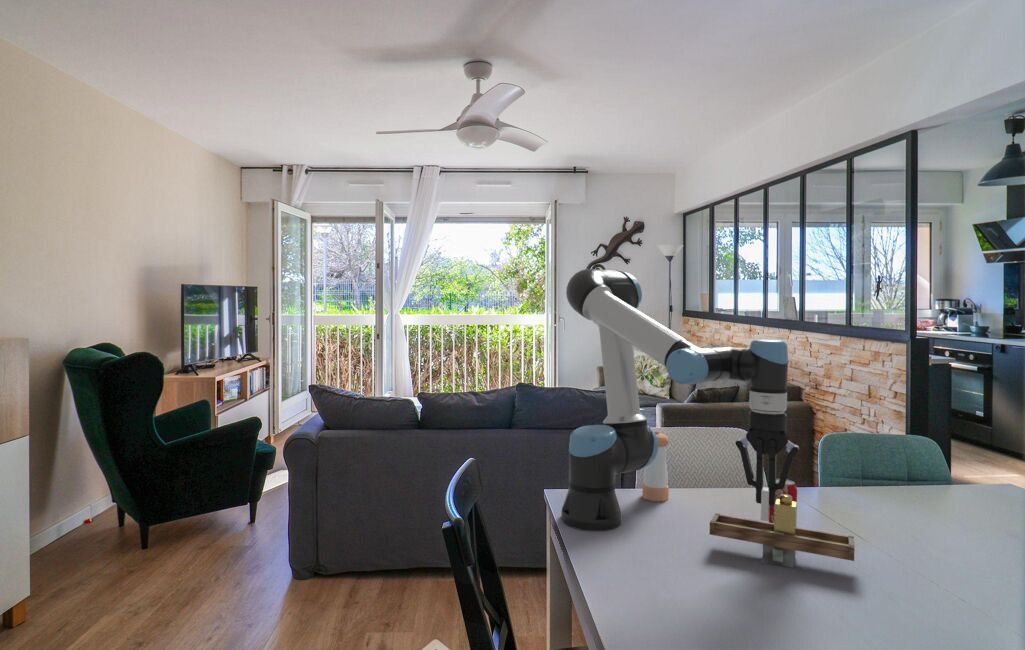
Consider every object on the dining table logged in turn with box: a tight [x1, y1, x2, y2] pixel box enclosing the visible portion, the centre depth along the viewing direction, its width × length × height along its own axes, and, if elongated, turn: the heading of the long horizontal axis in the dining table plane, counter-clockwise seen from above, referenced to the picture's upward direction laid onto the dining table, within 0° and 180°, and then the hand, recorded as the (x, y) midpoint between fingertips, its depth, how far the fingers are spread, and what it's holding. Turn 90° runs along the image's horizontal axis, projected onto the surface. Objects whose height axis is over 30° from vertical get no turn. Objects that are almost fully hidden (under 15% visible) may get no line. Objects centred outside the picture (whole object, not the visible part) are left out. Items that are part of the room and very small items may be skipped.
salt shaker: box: [641, 430, 670, 502], centre depth 173 cm, size 7×7×19 cm
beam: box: [709, 512, 856, 569], centre depth 131 cm, size 28×7×7 cm, turn 61°
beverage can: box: [768, 478, 798, 523], centre depth 149 cm, size 6×6×12 cm
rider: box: [774, 494, 798, 536], centre depth 131 cm, size 4×4×8 cm
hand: (765, 518), depth 133 cm, fingers closed
